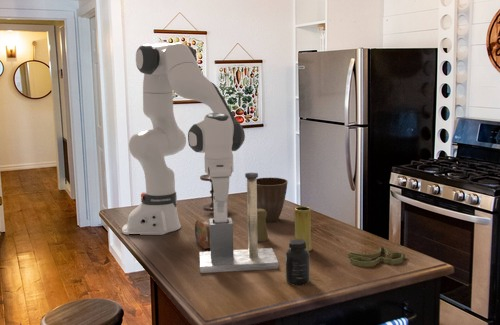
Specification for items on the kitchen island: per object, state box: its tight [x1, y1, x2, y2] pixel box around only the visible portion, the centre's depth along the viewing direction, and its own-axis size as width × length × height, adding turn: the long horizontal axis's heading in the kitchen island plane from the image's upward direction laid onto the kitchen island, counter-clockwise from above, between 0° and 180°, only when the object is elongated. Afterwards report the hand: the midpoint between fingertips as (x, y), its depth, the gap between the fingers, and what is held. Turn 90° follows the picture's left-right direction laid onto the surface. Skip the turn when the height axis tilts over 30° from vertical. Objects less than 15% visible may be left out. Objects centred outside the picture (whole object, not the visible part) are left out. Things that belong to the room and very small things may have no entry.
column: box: [213, 193, 228, 224], centre depth 175 cm, size 4×4×20 cm
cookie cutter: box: [347, 246, 406, 268], centre depth 178 cm, size 18×12×2 cm, turn 114°
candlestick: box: [199, 173, 214, 212], centre depth 245 cm, size 11×11×35 cm
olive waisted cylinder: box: [257, 209, 269, 242], centre depth 201 cm, size 6×6×11 cm
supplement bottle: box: [285, 238, 311, 286], centre depth 160 cm, size 7×7×12 cm
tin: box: [194, 219, 210, 250], centre depth 196 cm, size 15×3×8 cm, turn 22°
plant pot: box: [257, 177, 289, 223], centre depth 226 cm, size 15×15×16 cm
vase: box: [293, 206, 313, 252], centre depth 188 cm, size 6×6×14 cm
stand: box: [199, 172, 279, 274], centre depth 175 cm, size 24×14×29 cm, turn 96°
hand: (220, 210), depth 174 cm, fingers closed on column, 4 cm apart
